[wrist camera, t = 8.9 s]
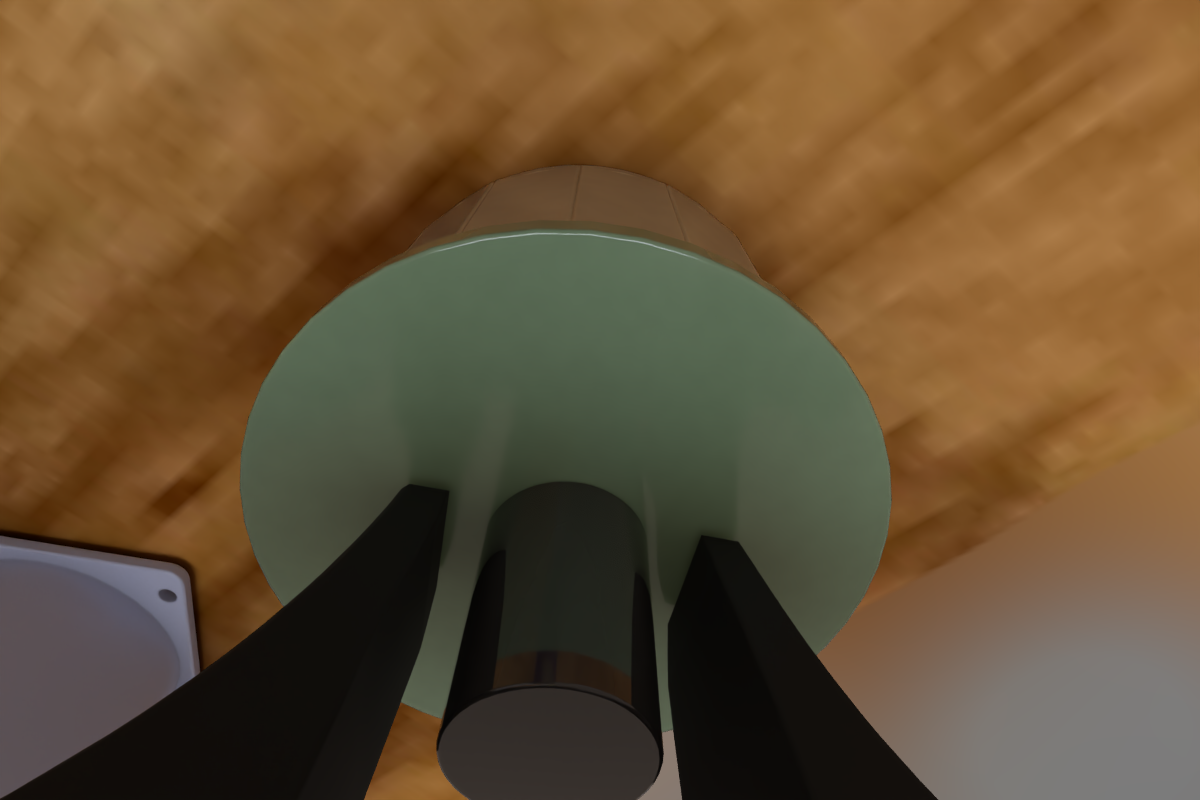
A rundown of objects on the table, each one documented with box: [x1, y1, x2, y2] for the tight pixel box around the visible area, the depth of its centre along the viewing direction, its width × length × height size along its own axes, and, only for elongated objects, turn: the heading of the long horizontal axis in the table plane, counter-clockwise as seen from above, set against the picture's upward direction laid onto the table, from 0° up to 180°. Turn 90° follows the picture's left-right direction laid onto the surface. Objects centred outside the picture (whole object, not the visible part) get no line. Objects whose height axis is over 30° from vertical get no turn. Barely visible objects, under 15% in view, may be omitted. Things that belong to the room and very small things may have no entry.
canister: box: [407, 165, 761, 278], centre depth 14 cm, size 9×9×6 cm
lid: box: [240, 220, 892, 800], centre depth 10 cm, size 10×10×5 cm
